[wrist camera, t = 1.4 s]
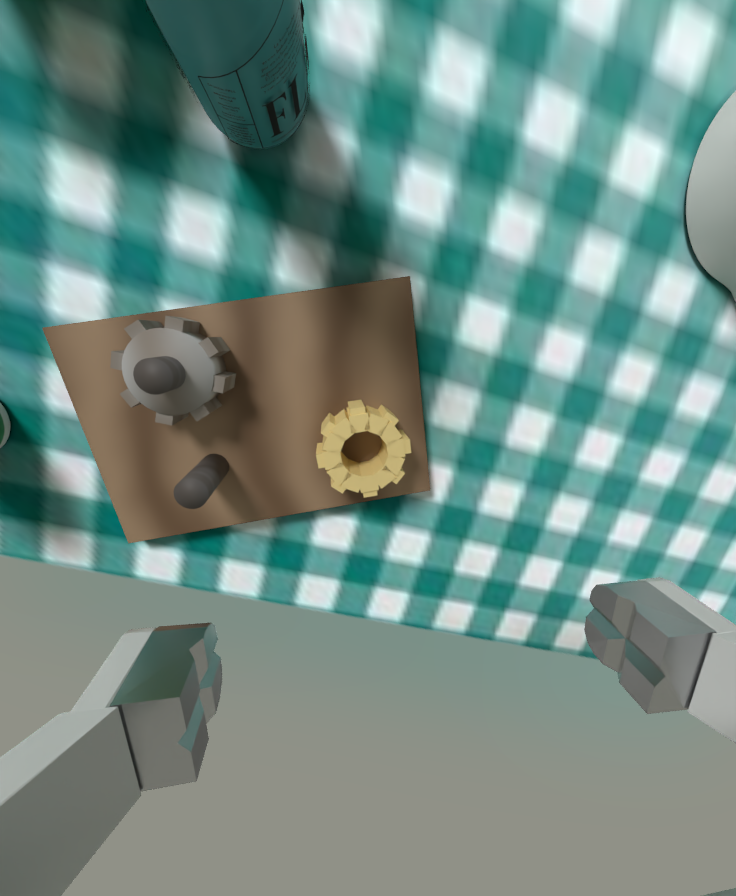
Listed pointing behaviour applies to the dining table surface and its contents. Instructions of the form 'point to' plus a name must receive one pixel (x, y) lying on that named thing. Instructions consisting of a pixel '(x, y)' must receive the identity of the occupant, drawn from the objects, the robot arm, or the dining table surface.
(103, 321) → the gear board
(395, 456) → the loose gear
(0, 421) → the supplement bottle
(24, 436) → the dining table surface
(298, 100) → the beverage bottle
